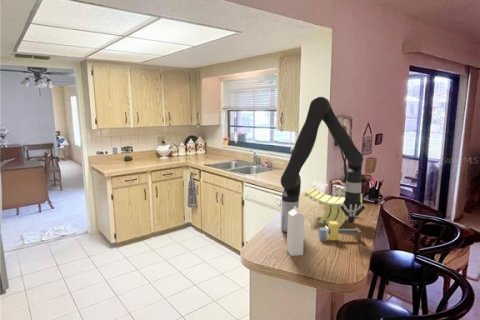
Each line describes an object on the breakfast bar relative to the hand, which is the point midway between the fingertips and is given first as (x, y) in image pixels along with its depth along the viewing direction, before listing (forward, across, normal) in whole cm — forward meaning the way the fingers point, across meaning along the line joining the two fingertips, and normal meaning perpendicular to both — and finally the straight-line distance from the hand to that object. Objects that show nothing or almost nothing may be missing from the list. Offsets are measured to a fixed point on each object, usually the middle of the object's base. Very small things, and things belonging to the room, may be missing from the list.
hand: (350, 222), depth 155 cm
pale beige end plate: (+6, -12, -1) cm, 14 cm away
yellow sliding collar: (+9, -9, -1) cm, 13 cm away
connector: (+9, -14, -1) cm, 17 cm away
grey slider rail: (+5, -5, -1) cm, 7 cm away
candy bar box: (+9, +8, +48) cm, 50 cm away
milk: (+9, -31, -17) cm, 36 cm away
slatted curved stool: (+9, -2, +27) cm, 29 cm away
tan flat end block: (+9, +4, -1) cm, 10 cm away
